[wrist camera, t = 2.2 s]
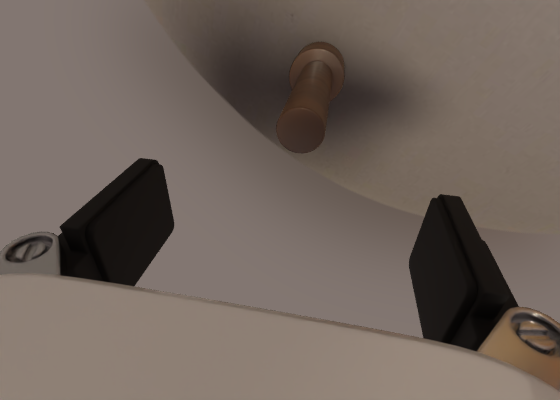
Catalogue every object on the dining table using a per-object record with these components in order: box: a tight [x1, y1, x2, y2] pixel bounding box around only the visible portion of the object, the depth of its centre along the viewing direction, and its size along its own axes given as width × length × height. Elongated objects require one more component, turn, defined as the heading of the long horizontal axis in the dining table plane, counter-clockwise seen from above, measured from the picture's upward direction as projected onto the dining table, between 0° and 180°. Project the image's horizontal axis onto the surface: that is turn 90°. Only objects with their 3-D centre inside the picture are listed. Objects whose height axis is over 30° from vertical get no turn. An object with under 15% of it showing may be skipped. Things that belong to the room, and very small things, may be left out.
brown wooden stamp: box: [276, 42, 344, 153], centre depth 23 cm, size 4×4×14 cm
